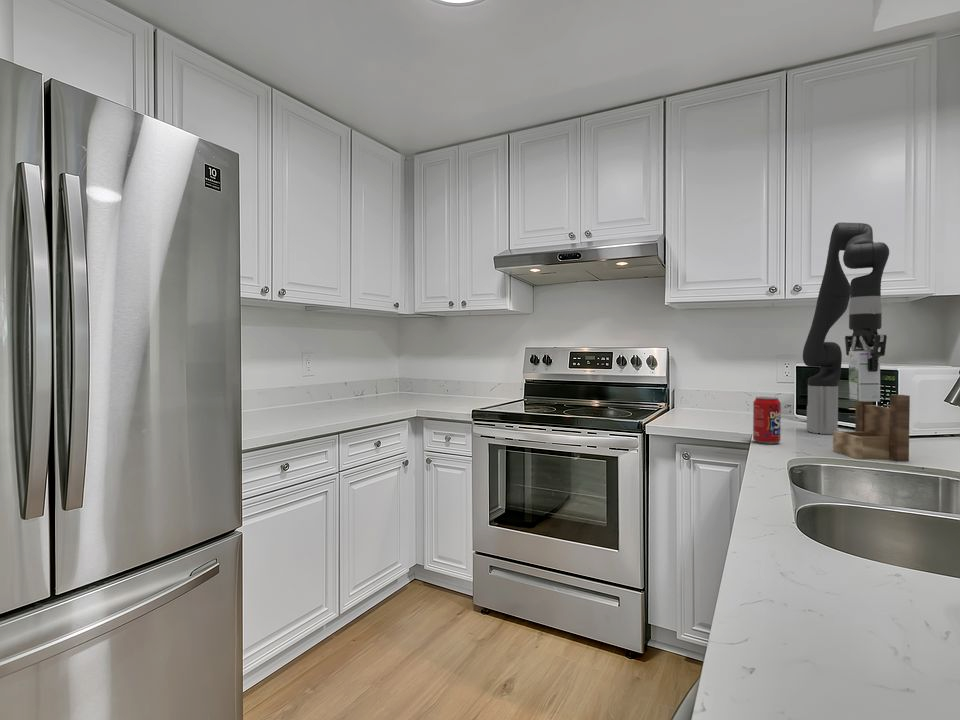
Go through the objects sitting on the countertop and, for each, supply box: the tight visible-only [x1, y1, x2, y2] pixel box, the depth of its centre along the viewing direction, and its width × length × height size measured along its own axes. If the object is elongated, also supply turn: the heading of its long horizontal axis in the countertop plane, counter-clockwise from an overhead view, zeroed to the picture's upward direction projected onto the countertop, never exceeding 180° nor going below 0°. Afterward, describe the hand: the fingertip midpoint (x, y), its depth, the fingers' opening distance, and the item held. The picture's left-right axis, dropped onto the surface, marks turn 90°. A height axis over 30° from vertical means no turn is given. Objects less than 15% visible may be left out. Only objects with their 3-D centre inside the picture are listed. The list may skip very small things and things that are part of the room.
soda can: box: [752, 396, 782, 445], centre depth 168 cm, size 8×8×15 cm
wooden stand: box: [832, 394, 911, 462], centre depth 148 cm, size 17×12×18 cm
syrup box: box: [848, 350, 881, 403], centre depth 148 cm, size 6×6×14 cm
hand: (864, 370), depth 148 cm, fingers closed on syrup box, 6 cm apart
